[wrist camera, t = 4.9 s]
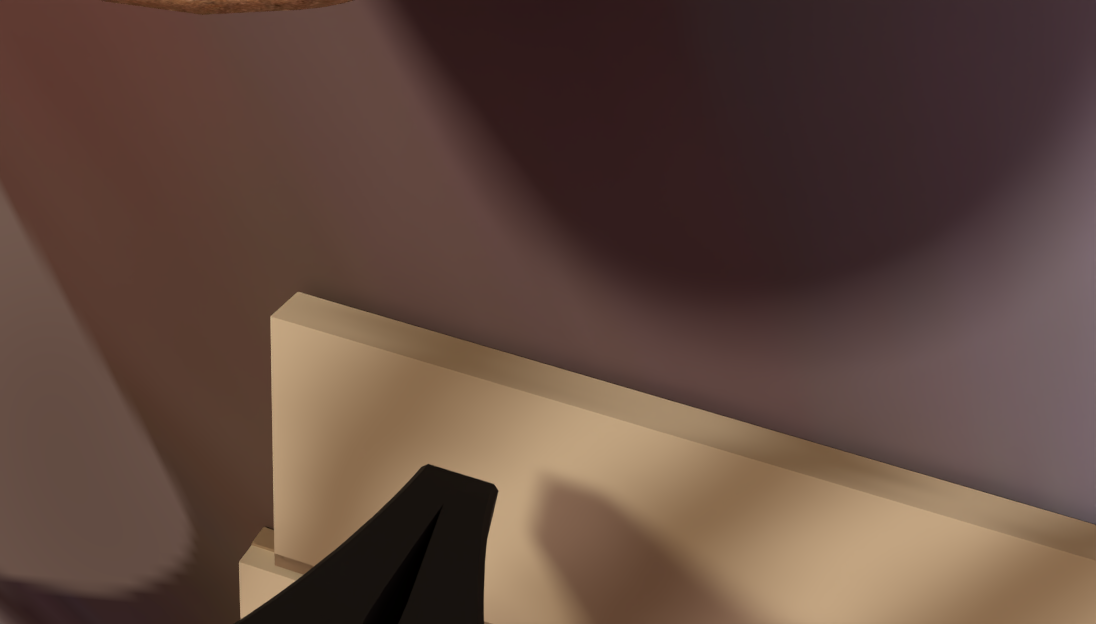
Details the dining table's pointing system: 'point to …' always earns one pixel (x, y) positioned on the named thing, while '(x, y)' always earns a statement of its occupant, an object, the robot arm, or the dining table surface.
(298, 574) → the thin wooden board
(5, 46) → the dining table surface
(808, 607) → the board
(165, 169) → the dining table surface
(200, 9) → the lidded jar
